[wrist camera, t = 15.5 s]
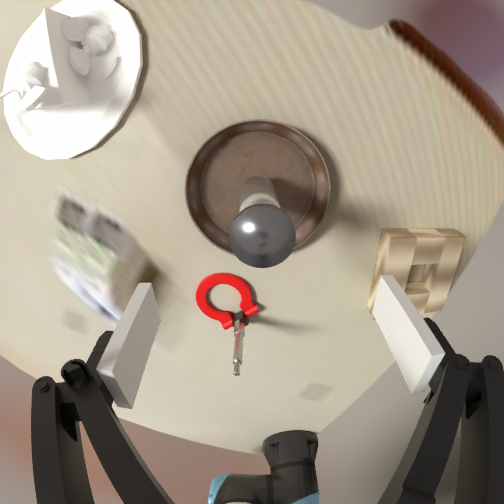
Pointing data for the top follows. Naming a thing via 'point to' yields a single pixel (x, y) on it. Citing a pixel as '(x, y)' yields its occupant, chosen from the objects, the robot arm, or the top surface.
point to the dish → (72, 77)
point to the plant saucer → (252, 164)
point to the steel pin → (261, 226)
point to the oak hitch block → (419, 252)
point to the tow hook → (226, 318)
